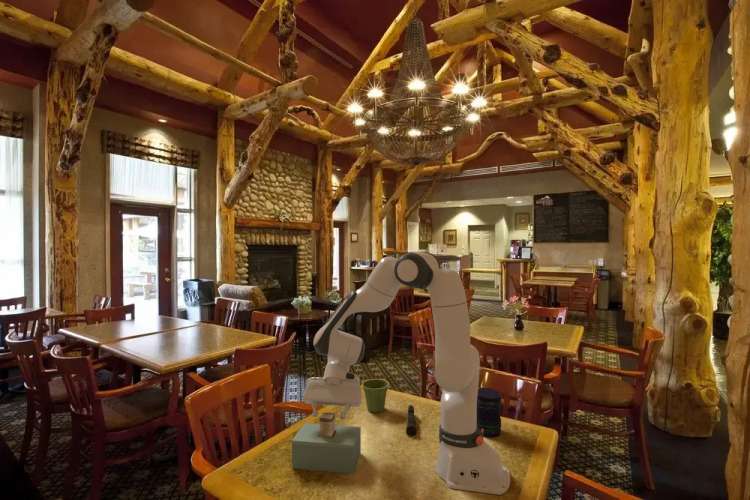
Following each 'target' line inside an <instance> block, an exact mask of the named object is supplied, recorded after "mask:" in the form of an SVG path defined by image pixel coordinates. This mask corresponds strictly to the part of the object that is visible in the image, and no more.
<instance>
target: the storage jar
mask: <svg viewBox="0 0 750 500" xmlns="http://www.w3.org/2000/svg"><path fill="white" fill-rule="evenodd" d="M501 409H502V393H501V392H500V391H499V390H497V389H495V388H492V387H491V388H490V387H478V395H477V427H478V428H479V429H480V430H481V431H482V428H483V438H488V439H495V438H498V437H500V436H501V435H502V418H501Z"/></svg>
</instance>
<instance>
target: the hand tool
mask: <svg viewBox="0 0 750 500" xmlns="http://www.w3.org/2000/svg"><path fill="white" fill-rule="evenodd" d="M415 419H416V417H415V408H414V406H413V405H412V404H410V405H408V408H407V423H406V425H407V426H406V427H405V434H406V435H407V437H415V436H416V435H417V432H418V428H417V427H416V425H417V424H416V423H417V421H416V420H415Z"/></svg>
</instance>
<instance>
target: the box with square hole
mask: <svg viewBox="0 0 750 500" xmlns="http://www.w3.org/2000/svg"><path fill="white" fill-rule="evenodd" d="M361 429H362V427H361V426H352V425H351V426H350V425H349V426H348V425H336V424H335V435H334V437H333V438H327V437H320V423H309V422H308V423H305V422H304V423H303V425H302V426H301V427H300V429H299V430H298V431H297V433H296V435H294V437H293V439H292V440H291V468H292V469H295V470H306V471H316V472H326V473H327V472H330V473H337V474H338V473H339V474H351V475H353V474H354V473H355V471H356V468H357V464H358V462H359V459H360V457H361V453H362V451H361V450H362V449H361V448H362V446H361V444H362V443H361V441H362V440H361V438H362V437H361V433H362V432H361V431H362V430H361Z"/></svg>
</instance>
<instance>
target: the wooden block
mask: <svg viewBox="0 0 750 500" xmlns="http://www.w3.org/2000/svg"><path fill="white" fill-rule="evenodd" d="M335 416H336V413H334V412H322V414H321V415H320V416H319V424H320V437H327V438H333V437H334V435H335V425H336V420H335V418H336V417H335Z"/></svg>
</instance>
